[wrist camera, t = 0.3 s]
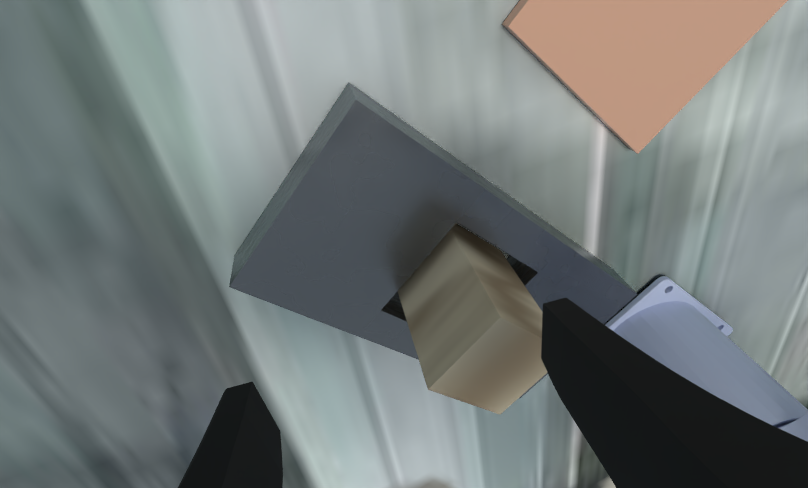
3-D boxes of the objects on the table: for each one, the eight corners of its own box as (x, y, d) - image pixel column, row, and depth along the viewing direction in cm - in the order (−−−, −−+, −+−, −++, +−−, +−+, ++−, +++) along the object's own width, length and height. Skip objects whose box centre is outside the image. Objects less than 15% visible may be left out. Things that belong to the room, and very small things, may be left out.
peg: (500, 250, 23) (569, 352, 17) (450, 303, 24) (500, 414, 19) (443, 215, 21) (500, 317, 15) (392, 275, 22) (428, 389, 17)
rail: (612, 269, 25) (637, 294, 24) (505, 369, 28) (520, 398, 27) (348, 82, 17) (356, 99, 15) (234, 255, 20) (229, 286, 18)
